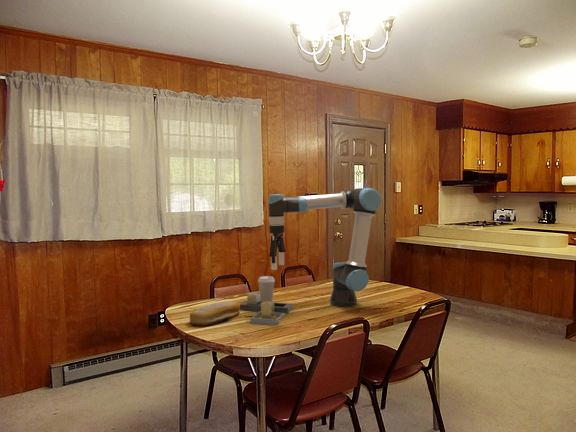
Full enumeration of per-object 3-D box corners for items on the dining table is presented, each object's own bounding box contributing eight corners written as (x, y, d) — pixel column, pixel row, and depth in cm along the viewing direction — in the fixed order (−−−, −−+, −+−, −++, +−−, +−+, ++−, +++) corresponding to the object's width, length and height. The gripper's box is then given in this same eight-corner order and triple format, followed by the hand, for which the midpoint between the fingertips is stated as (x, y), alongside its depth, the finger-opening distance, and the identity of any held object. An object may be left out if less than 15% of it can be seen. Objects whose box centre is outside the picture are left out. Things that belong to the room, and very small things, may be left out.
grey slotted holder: (292, 311, 230) (292, 303, 230) (287, 315, 221) (287, 307, 221) (246, 307, 237) (246, 300, 237) (239, 312, 228) (239, 304, 228)
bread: (245, 316, 220) (245, 301, 220) (204, 329, 200) (204, 312, 199) (226, 312, 229) (226, 297, 228) (185, 324, 208) (185, 307, 208)
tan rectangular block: (274, 317, 215) (274, 301, 214) (271, 320, 210) (271, 304, 209) (264, 317, 216) (264, 300, 216) (261, 319, 211) (261, 303, 211)
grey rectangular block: (259, 308, 233) (259, 293, 232) (256, 310, 228) (256, 295, 227) (250, 307, 234) (250, 292, 234) (247, 309, 229) (247, 294, 229)
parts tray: (284, 317, 217) (284, 313, 217) (276, 325, 205) (276, 320, 205) (259, 315, 221) (259, 311, 221) (250, 323, 209) (250, 318, 208)
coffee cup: (272, 306, 239) (272, 279, 238) (255, 305, 241) (255, 278, 240) (276, 302, 249) (276, 276, 248) (260, 301, 250) (260, 275, 250)
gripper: (276, 223, 232) (277, 263, 233) (261, 227, 208) (263, 271, 209) (290, 223, 230) (291, 263, 231) (277, 227, 206) (278, 271, 207)
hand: (278, 267), depth 220 cm, fingers open, 13 cm apart
